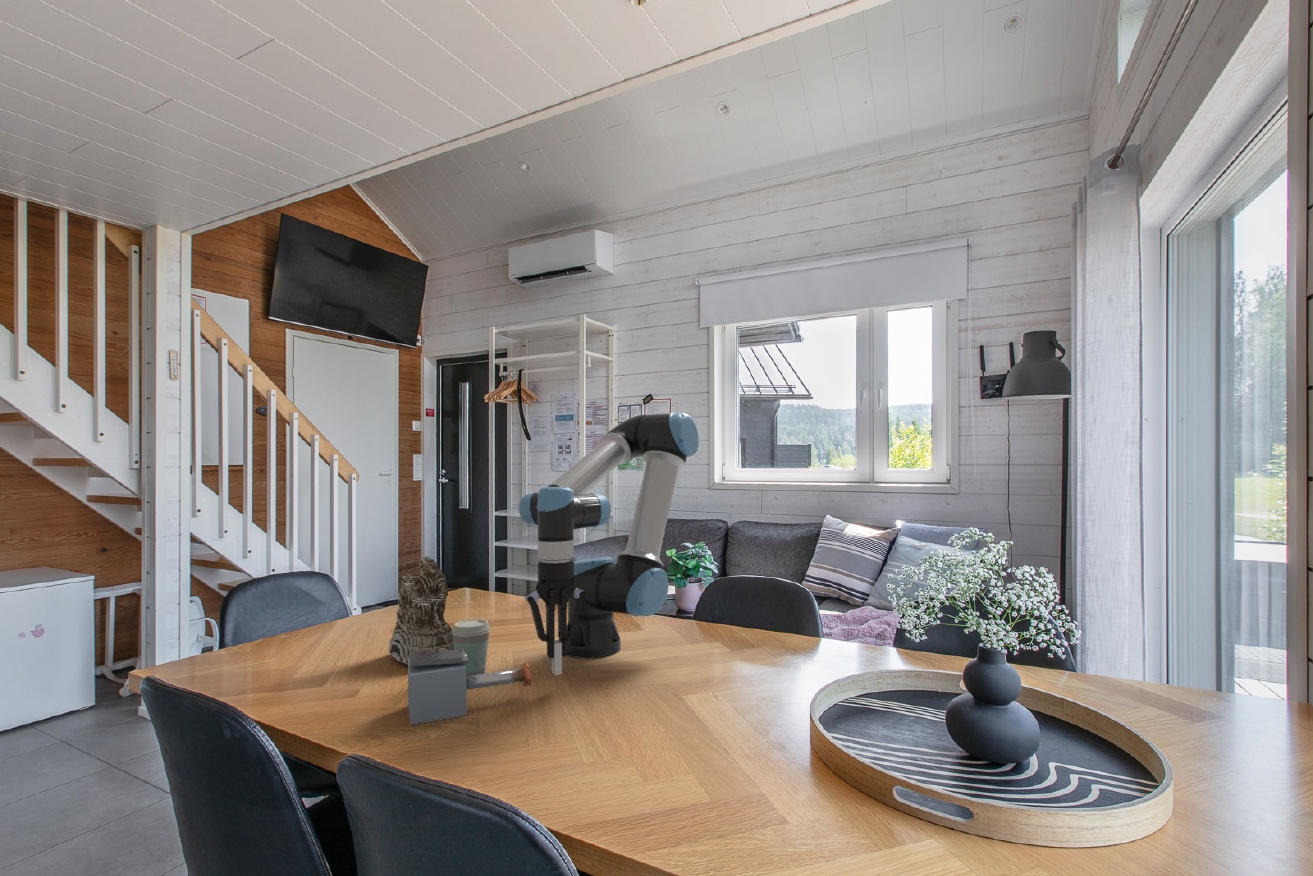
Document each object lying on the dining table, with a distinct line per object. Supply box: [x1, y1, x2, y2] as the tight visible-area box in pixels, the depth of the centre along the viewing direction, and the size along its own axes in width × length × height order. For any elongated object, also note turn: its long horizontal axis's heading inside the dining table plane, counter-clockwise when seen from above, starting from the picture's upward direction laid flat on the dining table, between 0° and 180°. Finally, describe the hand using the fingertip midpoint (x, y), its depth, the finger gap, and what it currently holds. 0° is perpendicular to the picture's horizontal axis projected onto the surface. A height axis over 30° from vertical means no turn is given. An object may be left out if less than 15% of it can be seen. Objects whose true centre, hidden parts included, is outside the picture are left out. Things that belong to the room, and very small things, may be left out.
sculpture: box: [388, 555, 455, 665], centre depth 161 cm, size 20×14×25 cm
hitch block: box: [407, 661, 468, 725], centre depth 127 cm, size 10×10×9 cm
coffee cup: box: [452, 618, 492, 676], centre depth 147 cm, size 8×9×12 cm
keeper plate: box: [409, 648, 469, 666], centre depth 127 cm, size 11×6×1 cm, turn 114°
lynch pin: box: [466, 662, 533, 691], centre depth 131 cm, size 15×5×5 cm, turn 114°
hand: (556, 672), depth 136 cm, fingers closed
